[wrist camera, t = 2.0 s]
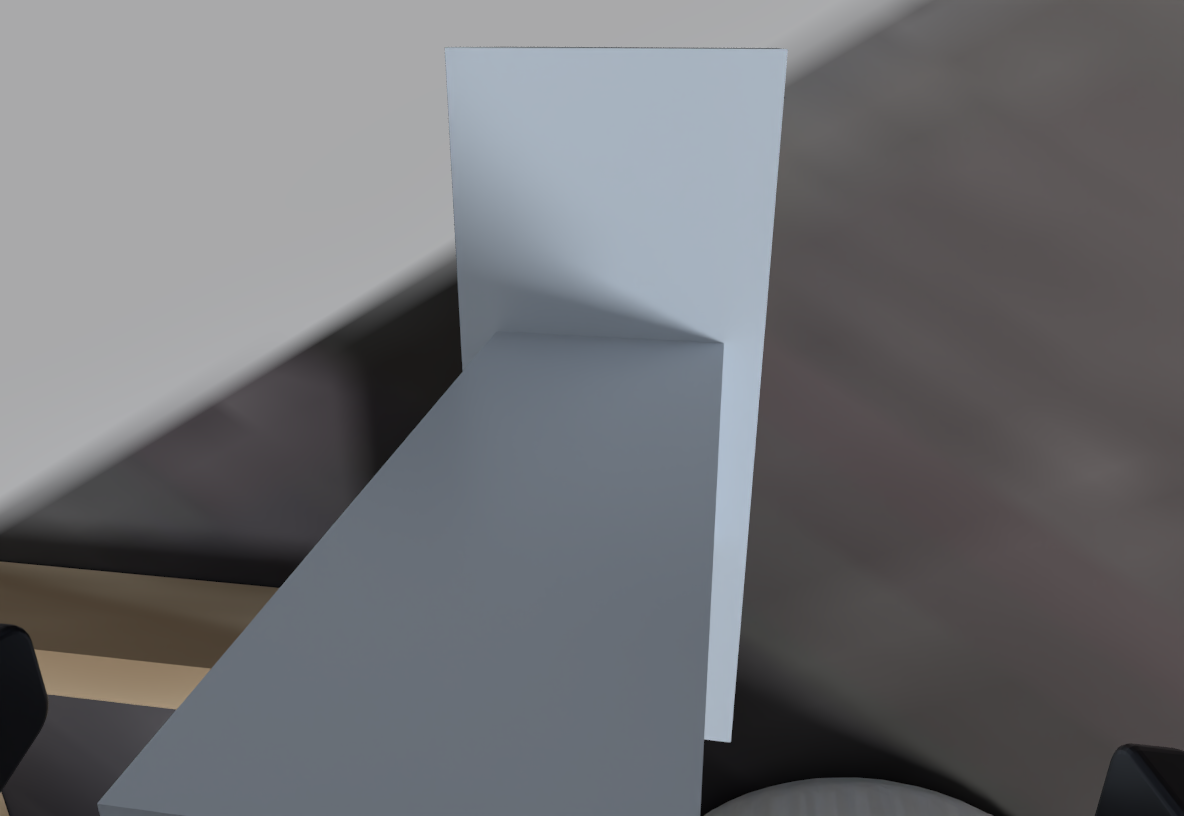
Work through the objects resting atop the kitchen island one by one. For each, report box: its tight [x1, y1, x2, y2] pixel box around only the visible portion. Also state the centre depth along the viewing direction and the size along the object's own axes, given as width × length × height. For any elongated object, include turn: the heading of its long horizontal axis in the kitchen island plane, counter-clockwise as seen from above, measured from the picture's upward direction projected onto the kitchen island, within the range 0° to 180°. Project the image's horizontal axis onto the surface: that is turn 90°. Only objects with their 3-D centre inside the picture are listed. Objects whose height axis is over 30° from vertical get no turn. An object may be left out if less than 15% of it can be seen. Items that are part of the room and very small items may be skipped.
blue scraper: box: [97, 47, 788, 816], centre depth 10 cm, size 4×10×11 cm, turn 0°
